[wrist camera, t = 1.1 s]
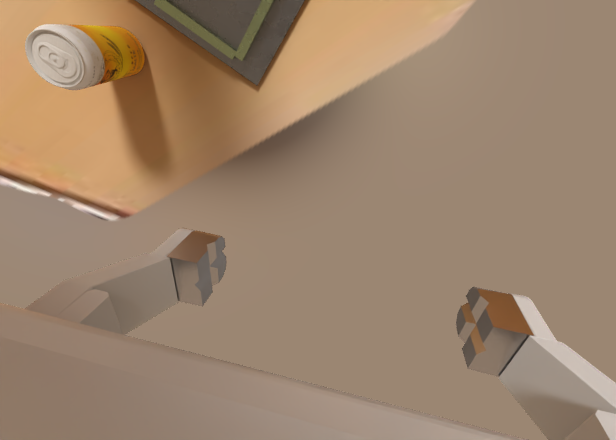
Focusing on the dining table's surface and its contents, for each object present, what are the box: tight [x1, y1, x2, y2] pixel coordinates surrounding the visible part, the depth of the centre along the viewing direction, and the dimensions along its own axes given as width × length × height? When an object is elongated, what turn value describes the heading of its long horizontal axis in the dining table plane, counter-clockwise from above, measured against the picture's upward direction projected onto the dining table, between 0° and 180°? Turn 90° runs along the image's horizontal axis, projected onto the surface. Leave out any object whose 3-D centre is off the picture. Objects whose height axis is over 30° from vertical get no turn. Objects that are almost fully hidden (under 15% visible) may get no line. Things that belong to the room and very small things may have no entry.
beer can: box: [25, 24, 145, 90], centre depth 36 cm, size 6×6×15 cm
